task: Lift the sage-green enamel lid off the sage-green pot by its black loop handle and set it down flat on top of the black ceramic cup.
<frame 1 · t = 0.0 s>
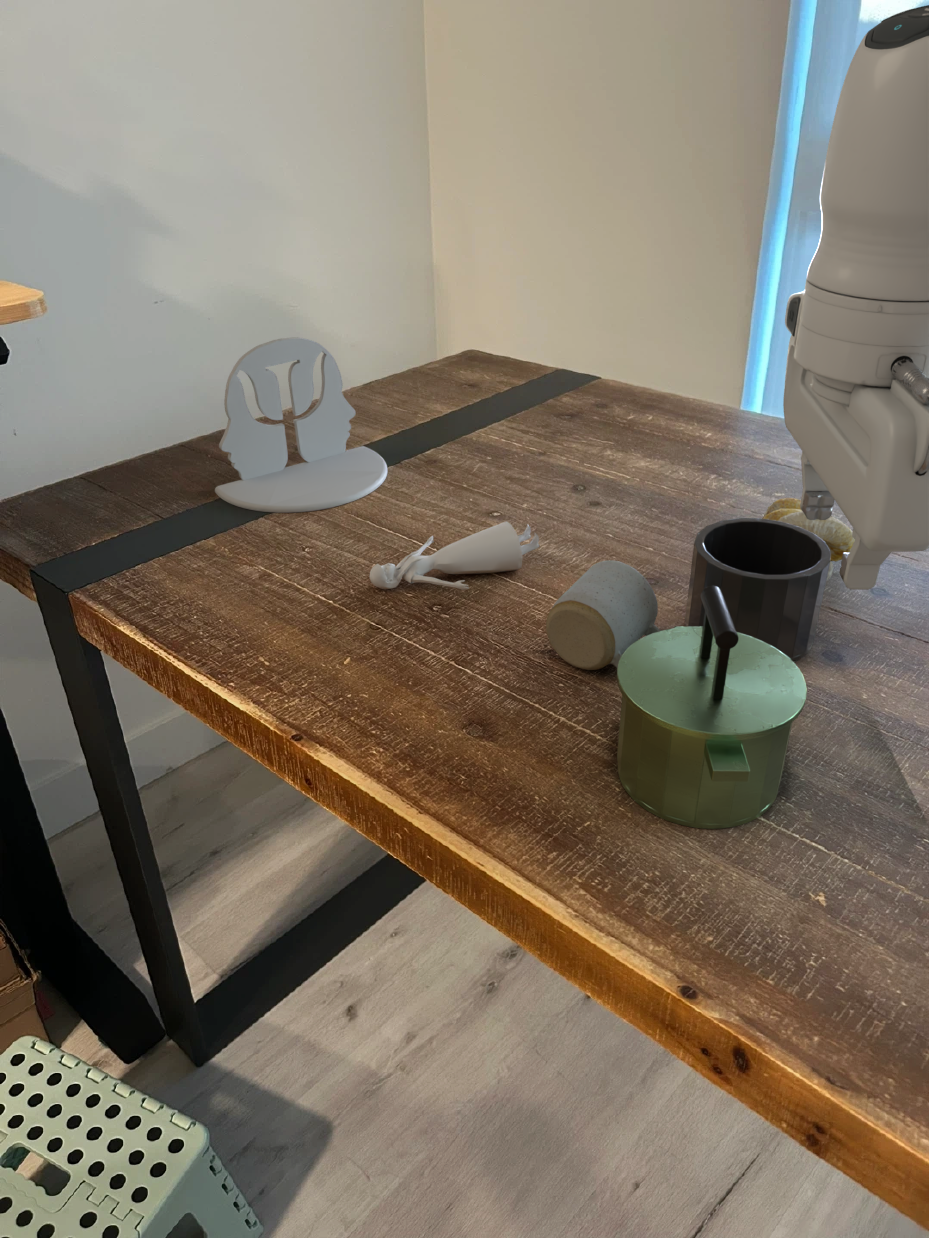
hand: (833, 547, 64), 20 cm above the table, tool pointing down, fingers open, 8 cm apart
ornament: (317, 487, 121), on the table
ceramic mug: (611, 657, 89), on the table
black cup: (748, 632, 91), on the table
pot: (696, 773, 75), on the table
woman figurine: (454, 575, 102), on the table
pale yellow curved piece: (800, 559, 103), on the table
pot lid: (709, 682, 70), point 8 cm above the table, touching pot
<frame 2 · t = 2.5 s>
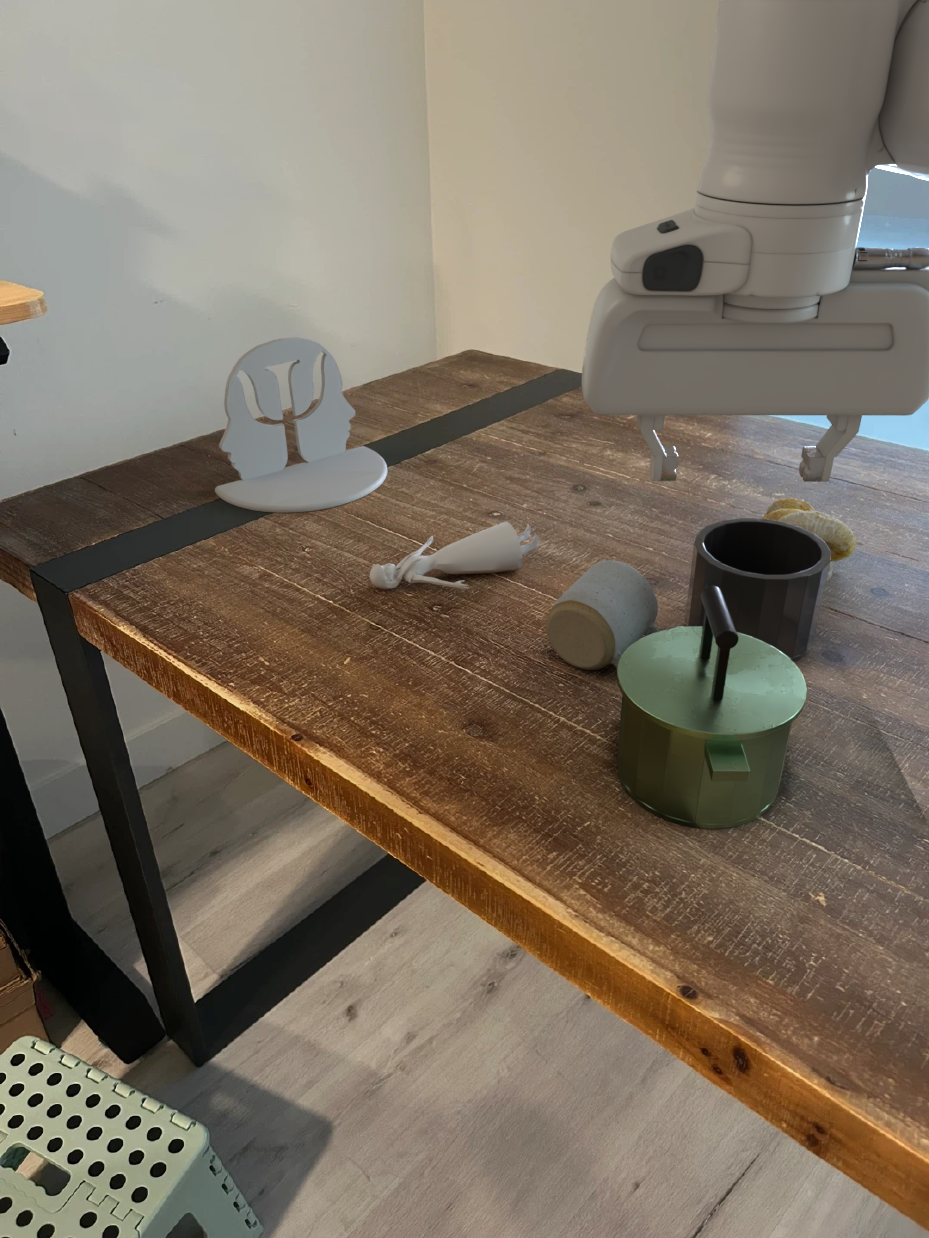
hand: (737, 478, 62), 24 cm above the table, tool pointing down, fingers open, 8 cm apart
nothing on the table moved.
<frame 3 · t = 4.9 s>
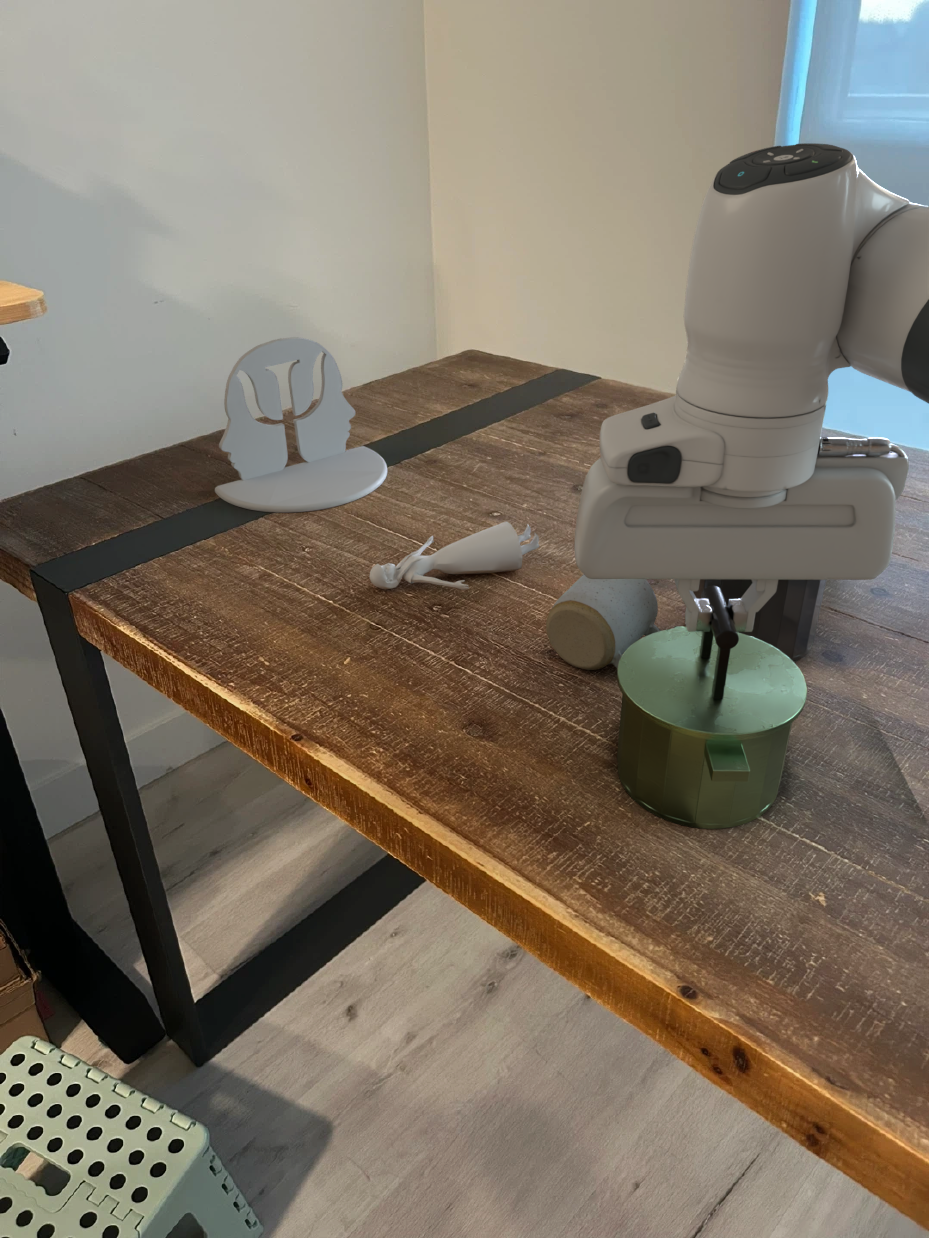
hand: (717, 627, 68), 13 cm above the table, tool pointing down, fingers closed on pot lid
pot lid: (709, 682, 70), point 9 cm above the table, touching gripper, pot
everything else where it was.
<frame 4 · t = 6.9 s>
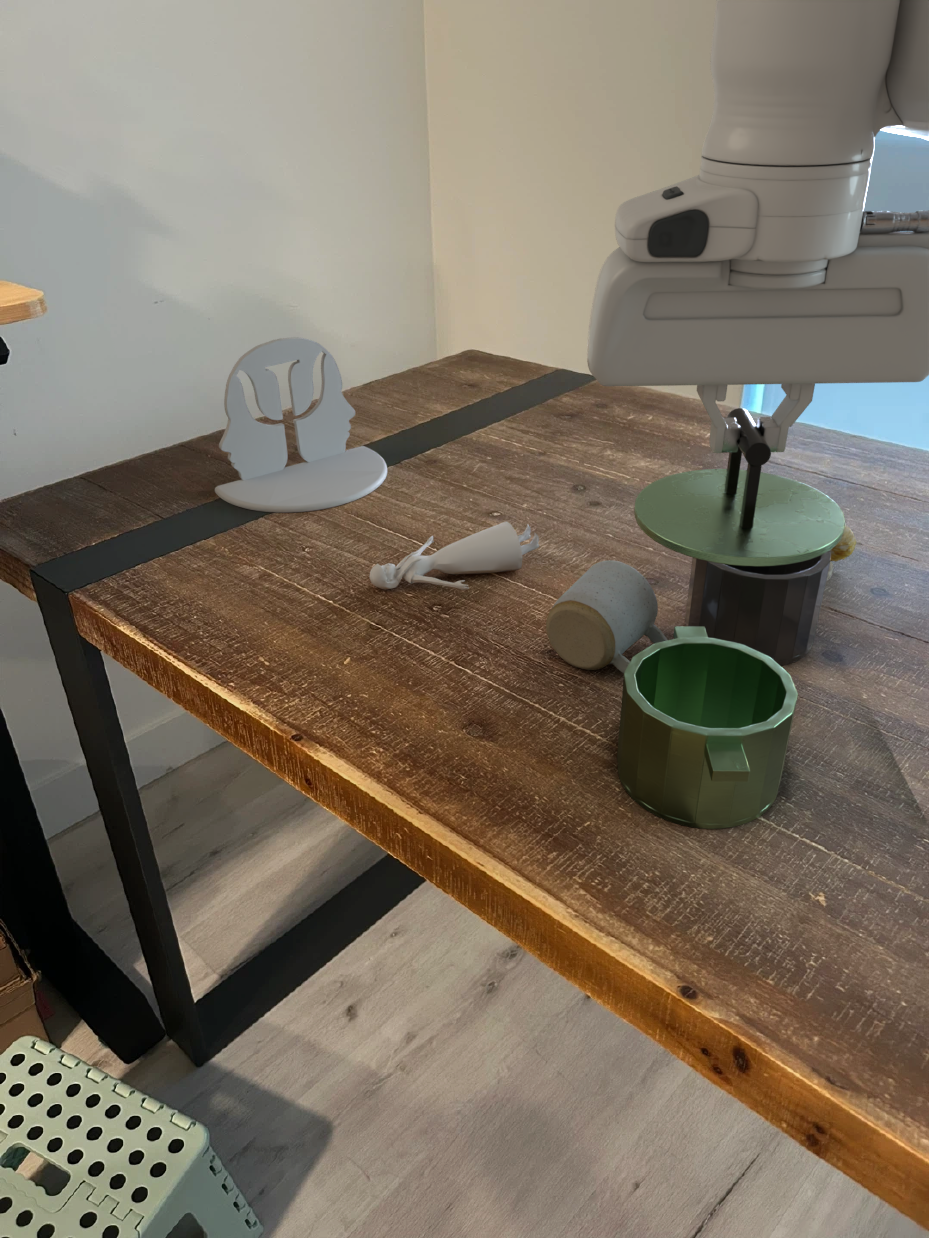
hand: (745, 449, 61), 26 cm above the table, tool pointing down, fingers closed on pot lid
pot lid: (736, 517, 64), point 21 cm above the table, touching gripper
everything else where it was.
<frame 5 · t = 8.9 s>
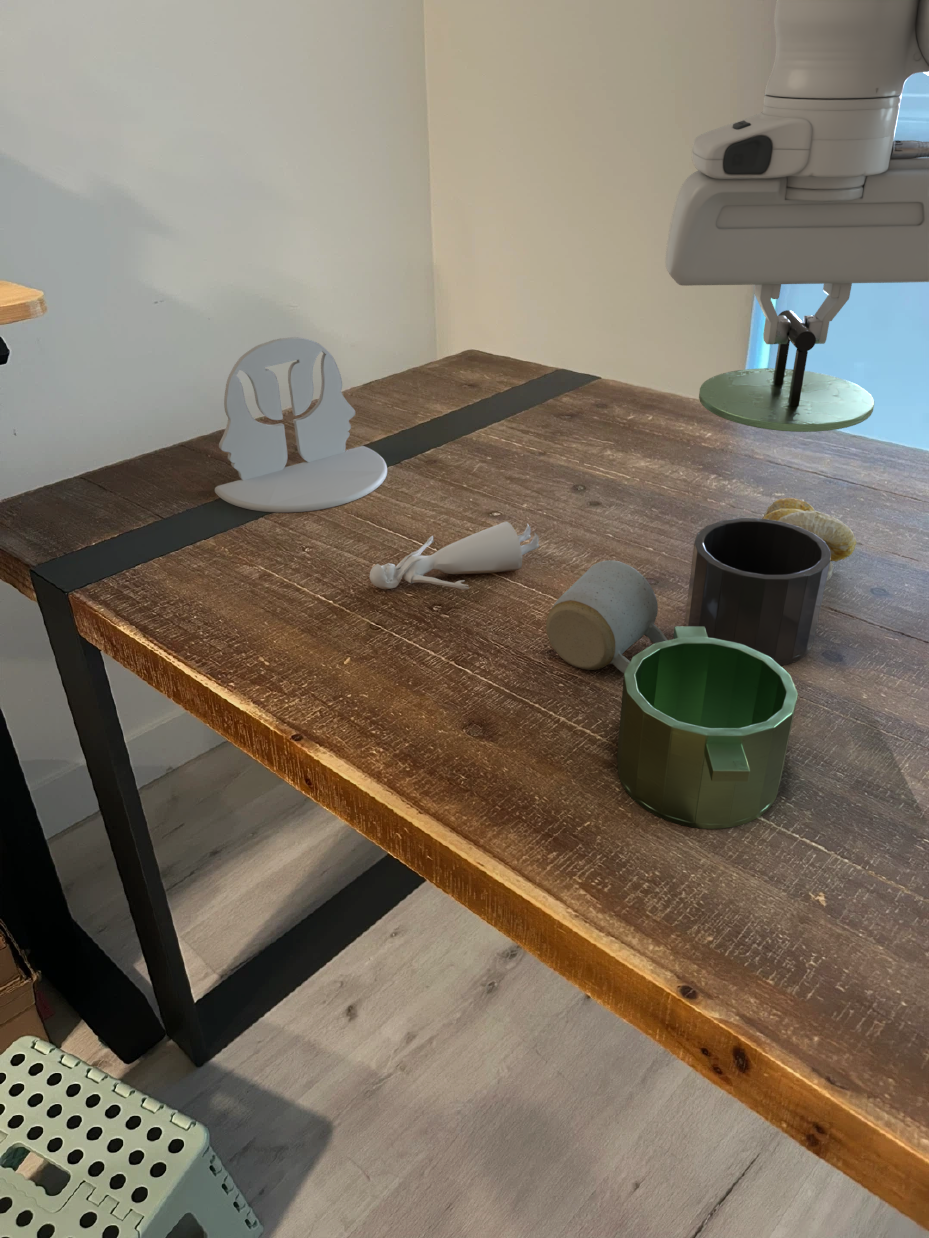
hand: (793, 342, 75), 28 cm above the table, tool pointing down, fingers closed on pot lid
pot lid: (784, 401, 77), point 23 cm above the table, touching gripper
everything else where it was.
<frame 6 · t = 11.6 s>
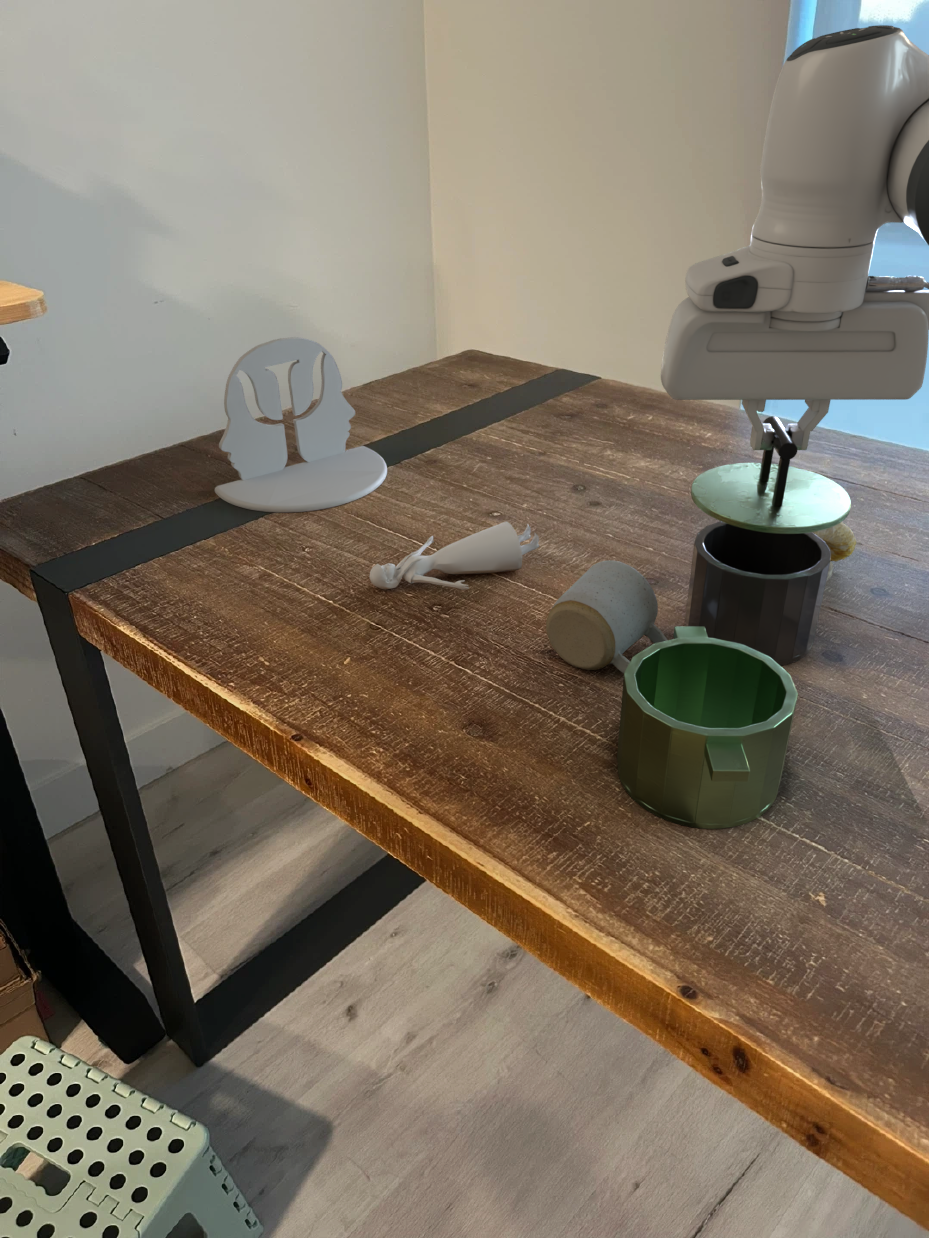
hand: (777, 448, 82), 18 cm above the table, tool pointing down, fingers closed on pot lid
pot lid: (768, 499, 84), point 14 cm above the table, touching gripper
everything else where it was.
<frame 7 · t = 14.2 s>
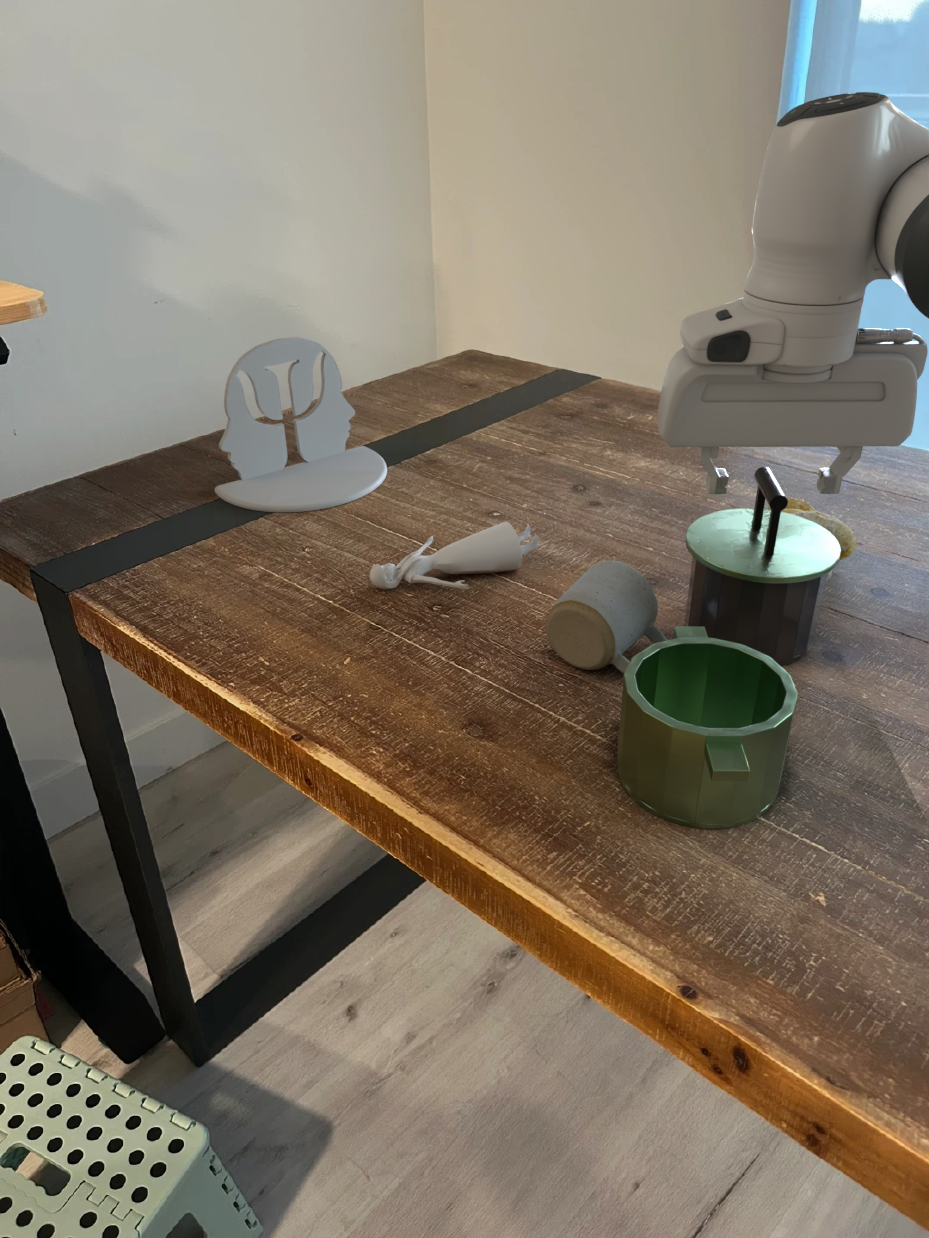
hand: (771, 491, 84), 14 cm above the table, tool pointing down, fingers open, 8 cm apart
pot lid: (761, 546, 87), point 9 cm above the table, touching black cup
everything else where it was.
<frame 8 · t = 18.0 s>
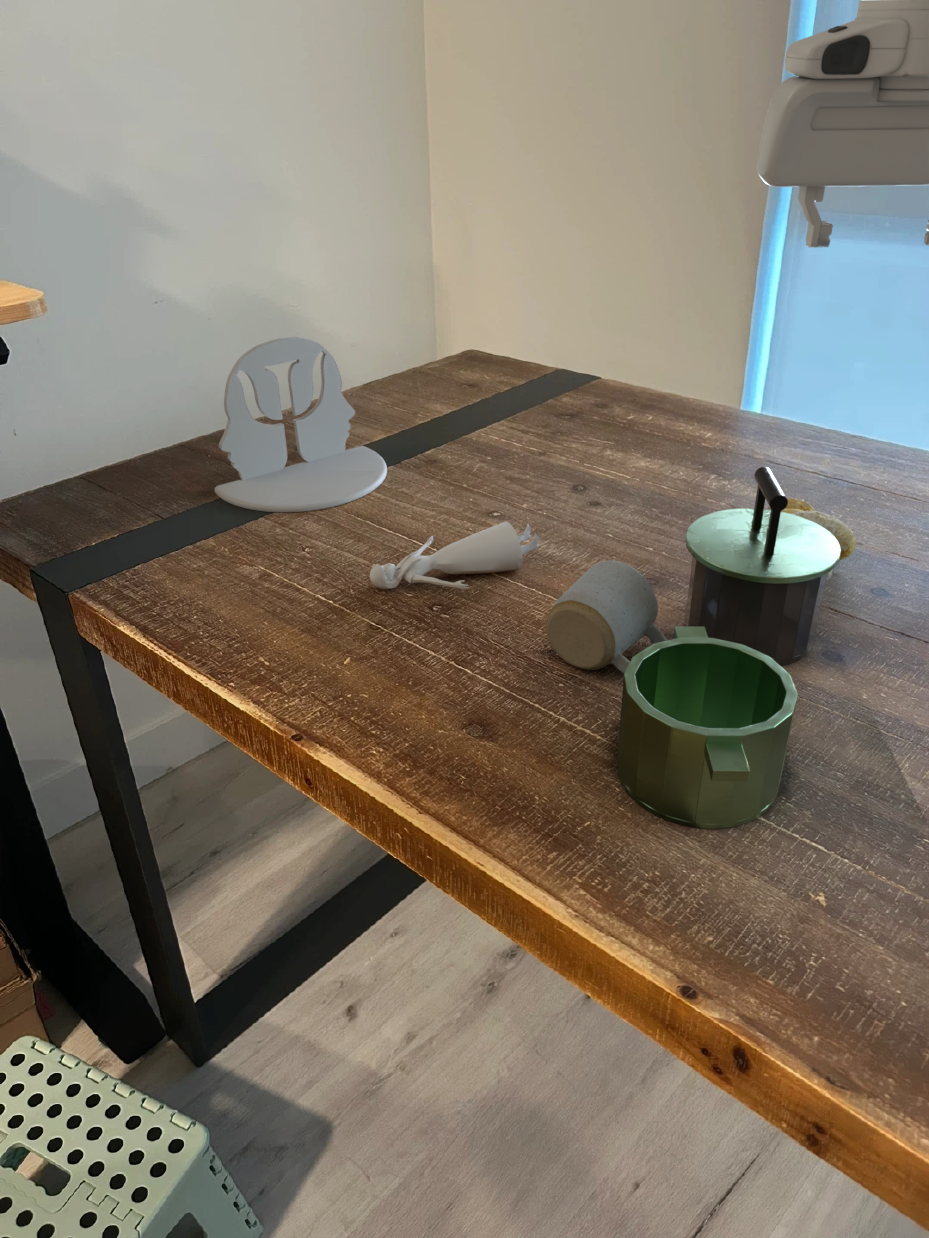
hand: (876, 246, 78), 33 cm above the table, tool pointing down, fingers open, 8 cm apart
nothing on the table moved.
at the end: pot lid 0.1 cm off-centre on the black cup, point 9.0 cm above the black cup's base; pot lid tilted 0°; the gripper is holding nothing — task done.
